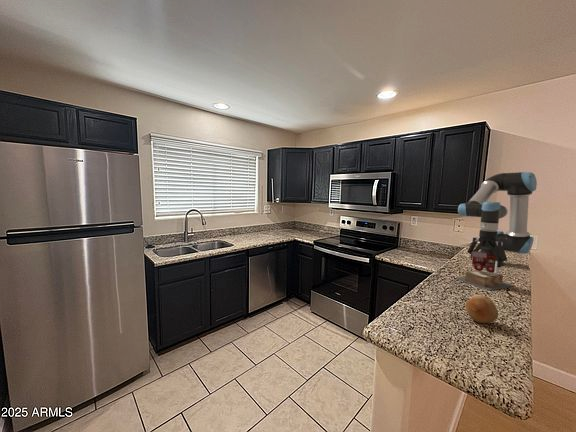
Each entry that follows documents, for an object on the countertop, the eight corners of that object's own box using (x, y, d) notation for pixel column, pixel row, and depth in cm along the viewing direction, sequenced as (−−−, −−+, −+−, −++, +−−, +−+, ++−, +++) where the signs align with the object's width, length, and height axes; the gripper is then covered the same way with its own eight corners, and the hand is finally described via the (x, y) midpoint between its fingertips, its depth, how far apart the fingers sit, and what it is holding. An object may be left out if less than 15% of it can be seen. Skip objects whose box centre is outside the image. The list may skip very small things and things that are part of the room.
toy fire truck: (500, 273, 126) (500, 254, 126) (470, 270, 134) (470, 251, 134) (499, 271, 132) (500, 252, 131) (471, 267, 140) (471, 249, 139)
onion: (464, 312, 101) (467, 289, 100) (496, 320, 95) (499, 296, 94) (463, 321, 93) (465, 297, 92) (497, 331, 87) (500, 305, 86)
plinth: (482, 278, 141) (482, 269, 140) (501, 284, 132) (502, 275, 131) (465, 280, 136) (466, 271, 136) (484, 287, 127) (485, 277, 126)
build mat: (478, 275, 147) (478, 274, 147) (514, 286, 130) (514, 285, 130) (455, 278, 141) (455, 277, 141) (489, 290, 124) (489, 289, 124)
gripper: (461, 227, 141) (458, 263, 143) (509, 234, 119) (505, 277, 121) (470, 226, 143) (467, 262, 146) (519, 233, 121) (514, 275, 123)
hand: (484, 269), depth 133 cm, fingers closed on toy fire truck, 11 cm apart
